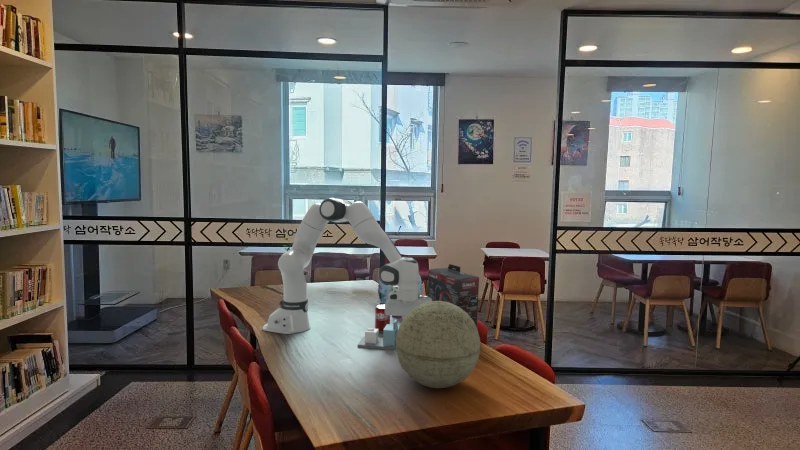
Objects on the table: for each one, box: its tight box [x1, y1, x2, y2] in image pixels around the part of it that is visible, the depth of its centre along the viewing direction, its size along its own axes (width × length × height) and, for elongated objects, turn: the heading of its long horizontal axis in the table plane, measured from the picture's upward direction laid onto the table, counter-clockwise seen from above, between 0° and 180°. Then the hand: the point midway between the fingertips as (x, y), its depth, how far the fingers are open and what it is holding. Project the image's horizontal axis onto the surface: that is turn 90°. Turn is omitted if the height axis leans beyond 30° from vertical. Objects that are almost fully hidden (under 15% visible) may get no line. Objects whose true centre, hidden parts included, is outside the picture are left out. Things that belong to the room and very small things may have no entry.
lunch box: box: [377, 274, 423, 305], centre depth 269 cm, size 26×11×21 cm, turn 58°
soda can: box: [374, 304, 391, 334], centre depth 222 cm, size 7×7×12 cm
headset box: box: [427, 263, 480, 328], centre depth 219 cm, size 25×12×33 cm, turn 32°
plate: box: [357, 335, 396, 351], centre depth 204 cm, size 16×11×5 cm
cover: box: [382, 319, 399, 346], centre depth 202 cm, size 5×8×10 cm, turn 171°
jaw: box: [364, 327, 380, 344], centre depth 204 cm, size 5×5×5 cm
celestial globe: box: [395, 301, 481, 389], centre depth 163 cm, size 30×30×30 cm
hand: (407, 325), depth 201 cm, fingers closed
